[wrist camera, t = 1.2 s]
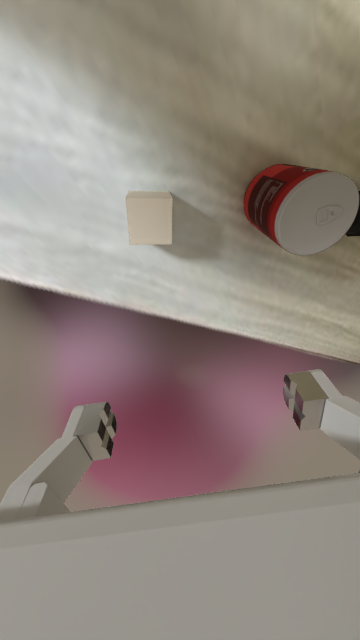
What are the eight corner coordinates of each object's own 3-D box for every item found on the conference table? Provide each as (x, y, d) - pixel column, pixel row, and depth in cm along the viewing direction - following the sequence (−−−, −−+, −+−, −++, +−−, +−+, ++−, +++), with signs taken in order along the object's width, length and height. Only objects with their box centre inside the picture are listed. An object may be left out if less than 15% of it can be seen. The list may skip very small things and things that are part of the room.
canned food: (307, 206, 34) (365, 229, 25) (254, 238, 36) (289, 270, 27) (292, 148, 30) (354, 150, 21) (232, 188, 31) (266, 206, 23)
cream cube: (128, 190, 30) (125, 198, 26) (169, 191, 31) (172, 198, 27) (131, 232, 33) (129, 244, 29) (168, 232, 34) (171, 244, 30)
